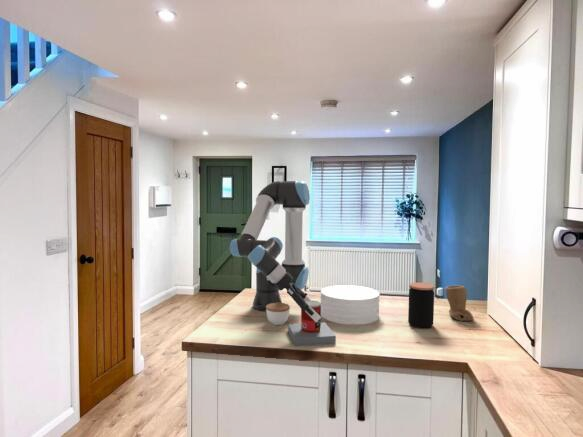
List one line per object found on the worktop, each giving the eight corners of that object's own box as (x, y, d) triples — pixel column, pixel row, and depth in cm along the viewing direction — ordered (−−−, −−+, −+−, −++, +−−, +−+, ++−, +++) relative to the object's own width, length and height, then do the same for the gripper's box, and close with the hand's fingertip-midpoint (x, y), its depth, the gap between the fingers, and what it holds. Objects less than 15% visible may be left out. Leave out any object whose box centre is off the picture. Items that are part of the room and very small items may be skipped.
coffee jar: (434, 323, 168) (435, 284, 167) (432, 330, 158) (433, 289, 158) (409, 319, 173) (410, 281, 172) (406, 326, 163) (407, 286, 162)
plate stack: (360, 304, 197) (361, 283, 196) (390, 321, 170) (391, 297, 170) (311, 309, 188) (312, 287, 187) (335, 327, 162) (335, 301, 161)
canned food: (319, 333, 145) (319, 306, 145) (299, 332, 147) (299, 304, 146) (321, 327, 153) (322, 300, 152) (302, 325, 154) (302, 299, 154)
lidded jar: (292, 320, 170) (293, 300, 169) (284, 328, 160) (284, 306, 159) (271, 317, 173) (271, 298, 173) (262, 325, 163) (262, 304, 163)
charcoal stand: (288, 331, 156) (288, 324, 156) (324, 329, 159) (325, 322, 159) (295, 345, 141) (295, 338, 140) (335, 343, 143) (335, 335, 143)
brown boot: (443, 311, 187) (444, 281, 186) (469, 313, 183) (470, 283, 182) (445, 320, 172) (446, 288, 172) (473, 323, 168) (475, 290, 168)
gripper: (273, 277, 161) (307, 311, 162) (272, 291, 136) (313, 331, 137) (286, 265, 160) (320, 299, 162) (287, 277, 136) (327, 317, 137)
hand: (316, 314), depth 149 cm, fingers open, 13 cm apart
